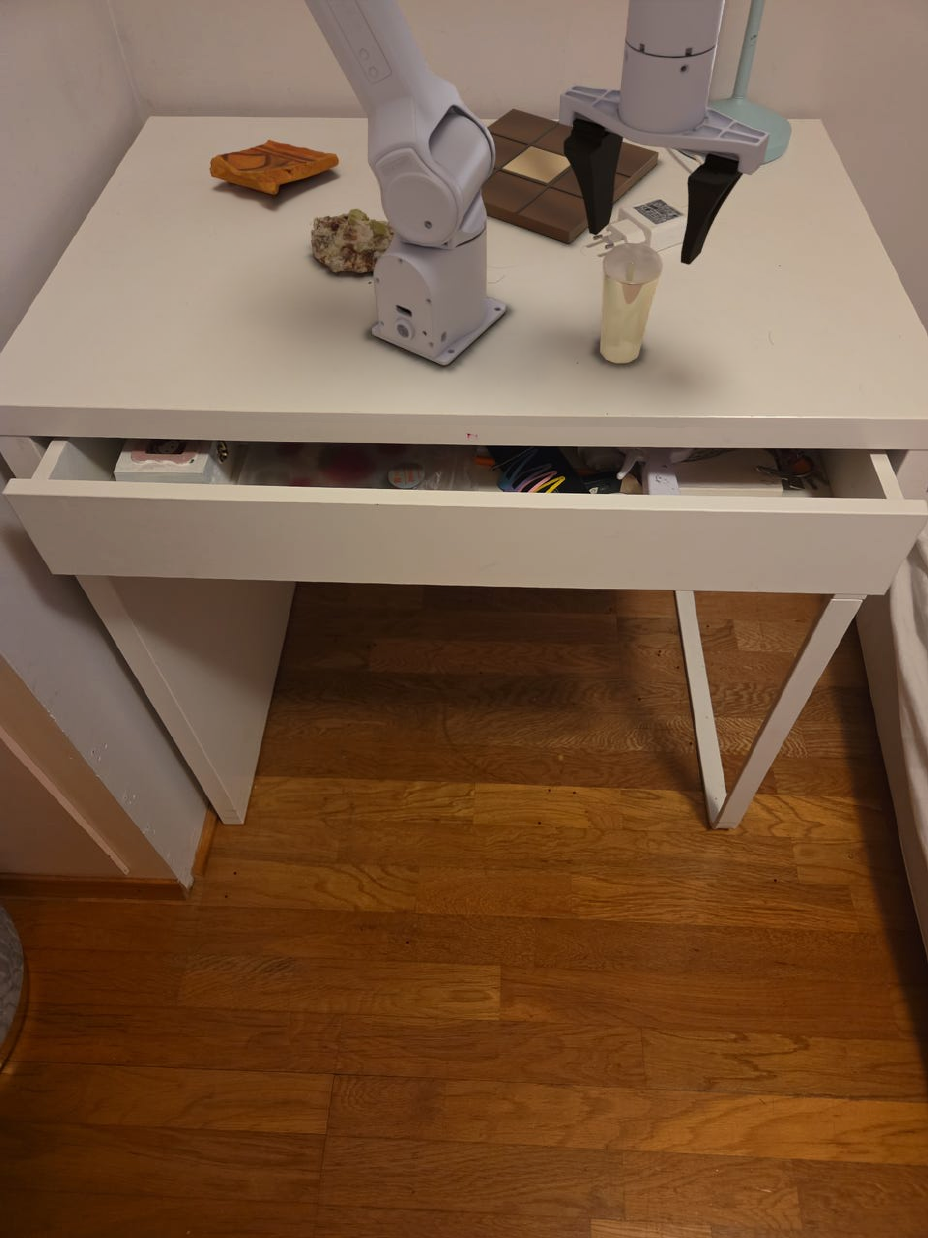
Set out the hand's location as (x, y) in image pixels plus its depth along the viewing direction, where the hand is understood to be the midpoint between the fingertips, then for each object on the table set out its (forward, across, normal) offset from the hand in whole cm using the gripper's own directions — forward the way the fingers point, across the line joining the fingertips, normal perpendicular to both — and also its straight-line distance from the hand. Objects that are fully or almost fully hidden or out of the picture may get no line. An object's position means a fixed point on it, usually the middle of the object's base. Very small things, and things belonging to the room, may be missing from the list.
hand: (644, 242), depth 66 cm
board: (+10, +21, -20) cm, 31 cm away
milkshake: (+10, +1, +1) cm, 10 cm away
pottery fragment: (+9, +44, -5) cm, 45 cm away
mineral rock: (+9, +28, +1) cm, 29 cm away
